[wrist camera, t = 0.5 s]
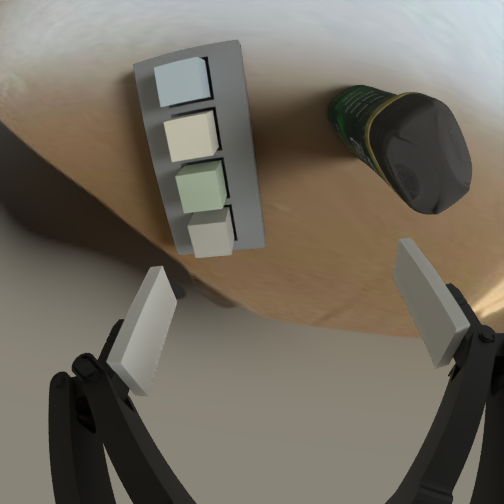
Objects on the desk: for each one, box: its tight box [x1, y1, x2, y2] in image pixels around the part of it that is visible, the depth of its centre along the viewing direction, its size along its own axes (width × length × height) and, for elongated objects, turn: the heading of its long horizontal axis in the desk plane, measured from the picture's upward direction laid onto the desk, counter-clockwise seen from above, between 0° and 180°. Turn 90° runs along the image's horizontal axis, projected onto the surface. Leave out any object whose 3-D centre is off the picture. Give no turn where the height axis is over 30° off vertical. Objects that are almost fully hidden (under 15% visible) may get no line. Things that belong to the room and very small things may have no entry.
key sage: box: [175, 160, 227, 213], centre depth 31 cm, size 4×4×4 cm
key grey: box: [188, 207, 234, 258], centre depth 34 cm, size 4×4×4 cm
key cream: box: [164, 110, 219, 162], centre depth 27 cm, size 4×4×4 cm
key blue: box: [154, 57, 211, 107], centre depth 24 cm, size 4×4×4 cm
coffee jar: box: [328, 85, 472, 214], centre depth 23 cm, size 10×8×19 cm
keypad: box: [133, 40, 265, 255], centre depth 32 cm, size 26×12×4 cm, turn 7°
